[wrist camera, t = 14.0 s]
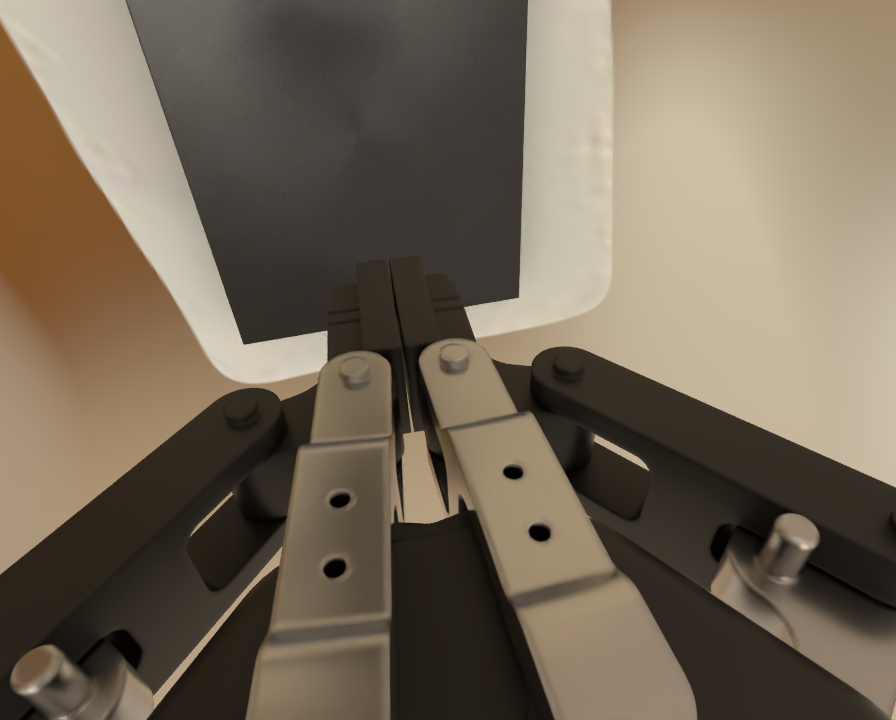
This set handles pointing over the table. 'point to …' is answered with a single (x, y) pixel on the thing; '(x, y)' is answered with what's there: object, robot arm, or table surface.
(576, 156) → the table surface
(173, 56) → the laptop screen
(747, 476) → the robot arm
